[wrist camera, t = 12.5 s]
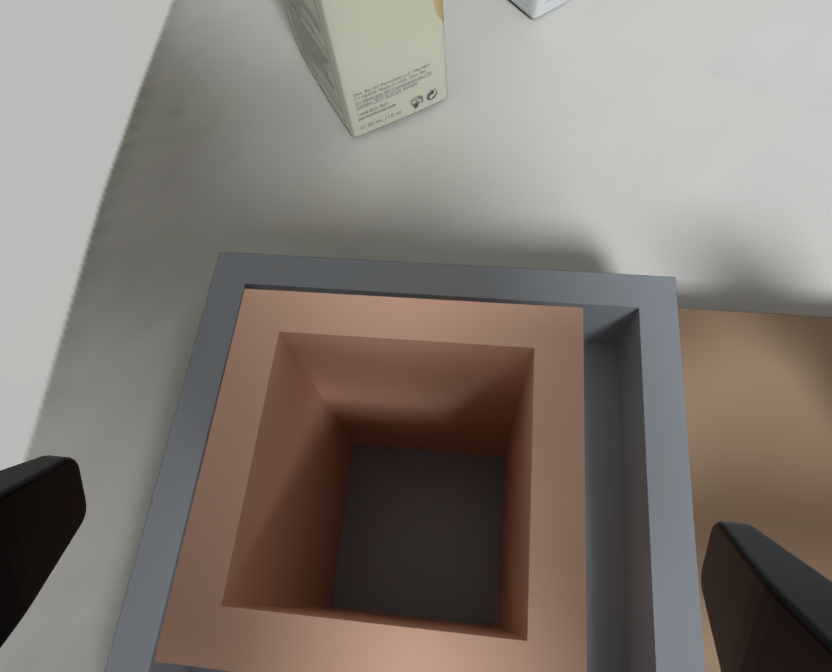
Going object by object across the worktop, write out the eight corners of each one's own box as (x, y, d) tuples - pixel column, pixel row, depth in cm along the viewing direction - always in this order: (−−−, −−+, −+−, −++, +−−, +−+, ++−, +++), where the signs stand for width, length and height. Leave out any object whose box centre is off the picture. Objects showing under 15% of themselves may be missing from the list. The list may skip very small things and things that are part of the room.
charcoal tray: (669, 877, 14) (726, 951, 11) (137, 793, 15) (58, 839, 12) (642, 327, 20) (675, 276, 17) (254, 302, 21) (220, 251, 18)
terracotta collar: (526, 734, 15) (589, 859, 7) (285, 703, 15) (122, 789, 8) (533, 432, 18) (583, 307, 10) (331, 416, 18) (244, 288, 11)
